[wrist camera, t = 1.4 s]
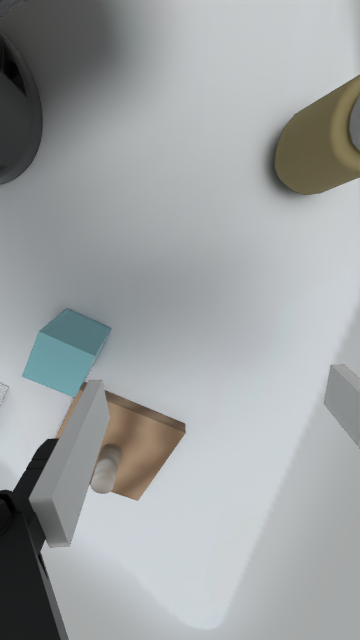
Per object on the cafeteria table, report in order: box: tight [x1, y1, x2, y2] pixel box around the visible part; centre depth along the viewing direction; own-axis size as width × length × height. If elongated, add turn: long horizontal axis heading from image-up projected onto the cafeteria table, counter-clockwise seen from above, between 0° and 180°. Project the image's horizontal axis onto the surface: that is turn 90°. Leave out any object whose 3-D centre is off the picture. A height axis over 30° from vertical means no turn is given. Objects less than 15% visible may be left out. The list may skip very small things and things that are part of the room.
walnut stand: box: [56, 382, 185, 501], centre depth 41 cm, size 18×18×8 cm
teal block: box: [22, 308, 111, 397], centre depth 33 cm, size 6×6×8 cm
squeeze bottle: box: [275, 75, 360, 195], centre depth 21 cm, size 8×8×18 cm
